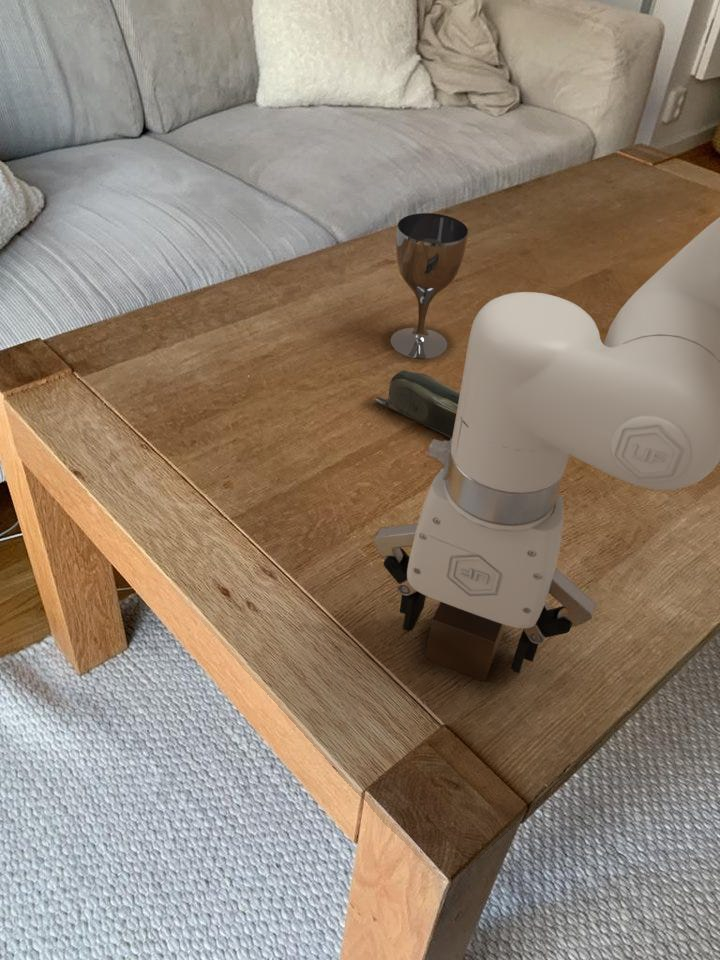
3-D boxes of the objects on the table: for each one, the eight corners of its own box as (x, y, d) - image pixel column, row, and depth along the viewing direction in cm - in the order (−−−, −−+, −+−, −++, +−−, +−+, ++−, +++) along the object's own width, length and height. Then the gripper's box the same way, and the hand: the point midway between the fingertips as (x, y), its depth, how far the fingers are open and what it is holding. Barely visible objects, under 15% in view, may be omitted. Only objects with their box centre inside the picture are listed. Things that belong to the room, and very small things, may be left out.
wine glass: (448, 364, 98) (466, 247, 88) (382, 355, 99) (393, 238, 89) (453, 330, 104) (470, 217, 94) (391, 322, 105) (401, 209, 95)
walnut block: (502, 636, 68) (512, 596, 65) (484, 682, 64) (494, 642, 61) (445, 615, 69) (452, 575, 66) (424, 659, 66) (432, 619, 62)
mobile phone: (513, 410, 84) (390, 356, 89) (500, 424, 82) (375, 368, 87) (503, 447, 87) (385, 393, 93) (491, 461, 85) (370, 406, 91)
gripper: (361, 469, 54) (348, 633, 66) (623, 556, 50) (560, 716, 61) (402, 410, 59) (383, 571, 71) (642, 483, 55) (581, 643, 66)
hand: (465, 638), depth 66 cm, fingers open, 8 cm apart
